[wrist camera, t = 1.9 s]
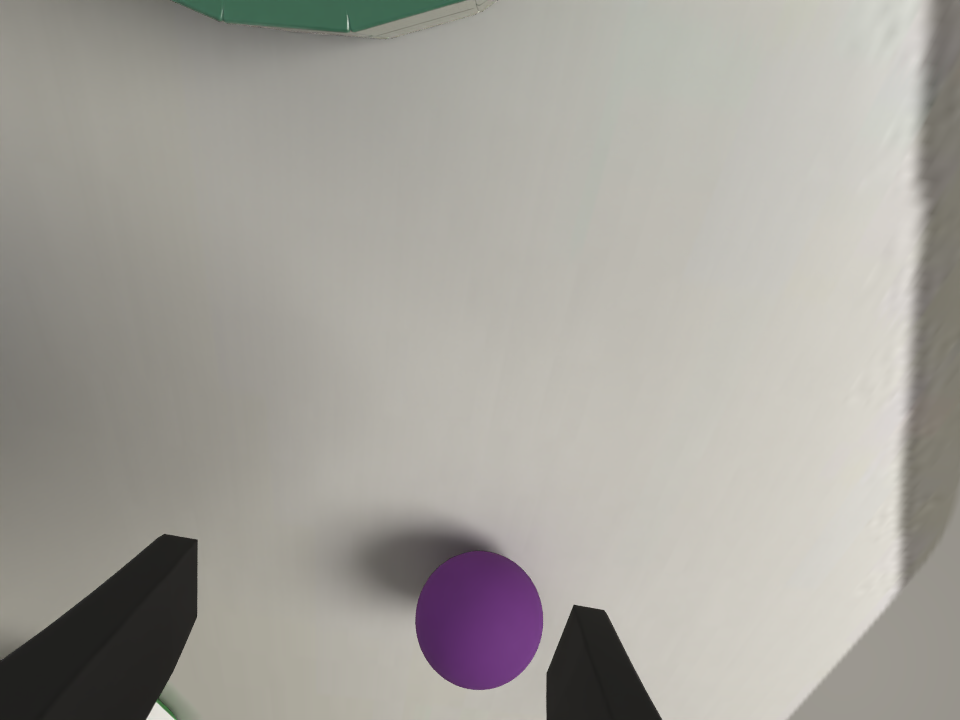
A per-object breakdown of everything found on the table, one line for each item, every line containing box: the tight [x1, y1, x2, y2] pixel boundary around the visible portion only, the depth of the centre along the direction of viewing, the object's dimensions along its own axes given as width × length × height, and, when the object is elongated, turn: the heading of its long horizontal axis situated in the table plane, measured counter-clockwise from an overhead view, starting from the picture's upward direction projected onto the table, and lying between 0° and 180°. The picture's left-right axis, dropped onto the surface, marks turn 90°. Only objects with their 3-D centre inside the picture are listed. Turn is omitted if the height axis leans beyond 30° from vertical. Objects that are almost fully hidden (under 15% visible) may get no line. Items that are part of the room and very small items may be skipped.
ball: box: [415, 551, 543, 690], centre depth 21 cm, size 4×4×4 cm
